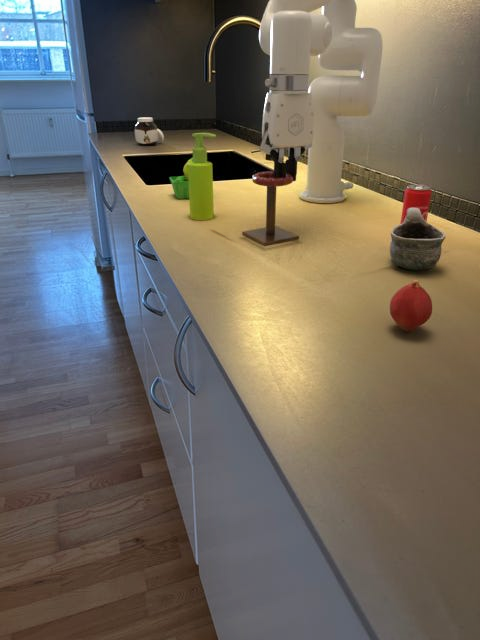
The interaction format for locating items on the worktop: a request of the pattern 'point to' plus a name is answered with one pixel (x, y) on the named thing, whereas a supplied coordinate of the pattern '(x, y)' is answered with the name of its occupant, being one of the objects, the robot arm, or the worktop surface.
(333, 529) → the worktop surface
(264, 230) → the stand
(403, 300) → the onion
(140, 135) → the spread jar
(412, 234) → the grey stoneware bowl
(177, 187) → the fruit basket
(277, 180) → the ring
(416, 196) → the beverage can
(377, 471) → the worktop surface
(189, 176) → the soap dispenser
